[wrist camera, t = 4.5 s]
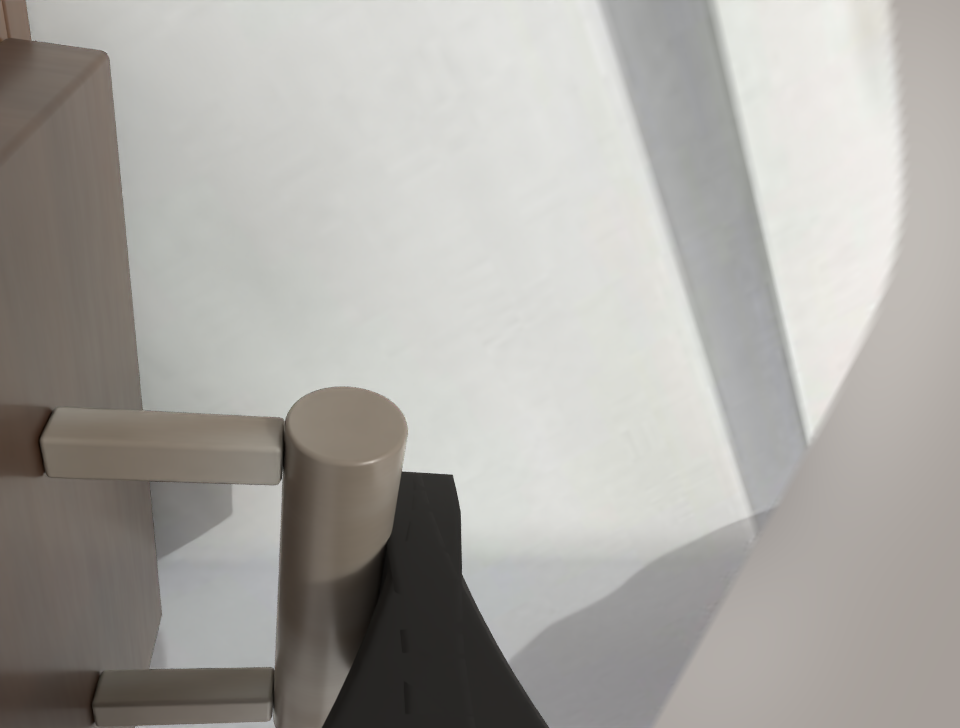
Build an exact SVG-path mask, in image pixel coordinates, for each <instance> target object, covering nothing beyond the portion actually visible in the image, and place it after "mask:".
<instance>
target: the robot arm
mask: <svg viewBox="0 0 960 728" xmlns="http://www.w3.org/2000/svg"><path fill="white" fill-rule="evenodd" d="M322 728H549V727H548V725H547V724H546V722H545V721H544V719H543V718H542V716H541V715H540V713H539V712H538V710H537V709H536V708H535V706H534V704H533V703H532V701H531V700H530V698H529V697H528V695H527V693H526V692H525V690H524V689H523V687H522V686H521V684H520V682H519V681H518V679H517V678H516V676H515V674H514V673H513V671H512V669H511V668H510V666H509V664H508V663H507V661H506V659H505V657H504V656H503V654H502V652H501V650H500V649H499V647H498V645H497V643H496V641H495V639H494V638H493V636H492V634H491V632H490V630H489V628H488V626H487V625H486V623H485V621H484V619H483V617H482V615H481V613H480V611H479V609H478V607H477V605H476V603H475V601H474V599H473V597H472V595H471V593H470V591H469V589H468V586H467V584H466V582H465V580H464V578H463V576H462V553H461V512H460V506H459V501H458V496H457V491H456V487H455V483H454V479H453V475H448V474H432V473H416V472H402V473H401V479H400V485H399V491H398V497H397V504H396V510H395V516H394V522H393V528H392V533H391V535H390V537H389V539H388V540H387V544H386V550H385V556H384V563H383V569H382V575H381V582H380V588H379V595H378V601H377V604H376V607H375V610H374V612H373V615H372V617H371V620H370V623H369V625H368V628H367V631H366V633H365V636H364V638H363V641H362V643H361V645H360V648H359V650H358V652H357V655H356V657H355V659H354V662H353V664H352V666H351V668H350V671H349V673H348V675H347V677H346V679H345V681H344V683H343V686H342V688H341V690H340V692H339V694H338V696H337V698H336V700H335V703H334V705H333V707H332V709H331V710H330V712H329V714H328V716H327V718H326V720H325V722H324V724H323V726H322Z"/></svg>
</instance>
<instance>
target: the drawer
mask: <svg viewBox="0 0 960 728" xmlns="http://www.w3.org/2000/svg"><path fill="white" fill-rule="evenodd" d="M407 435H408V427H407V422H406V420H405V417H404V415H403V413H402V412H401V410H400V409H399V408H398V407H397V406H396V405H395V404H394V403H393V402H391V401H390V400H389V399H387V398H385V397H384V396H382V395H380V394H378V393H375V392H372V391H369V390H366V389H361V388H356V387H330V388H324V389H320V390H317V391H314V392H311V393H309V394H307V395H305V396H303V397H302V398H300V399H299V400H298V401H297V402H296V403H295V404H294V405H293V406H292V407H291V409H290V410H289V412H288V414H287V416H286V420H285V421H284V419H283V418H280V417H261V416H241V415H221V414H201V413H181V412H162V411H143V409H142V398H141V388H140V377H139V367H138V356H137V346H136V335H135V324H134V314H133V303H132V293H131V282H130V272H129V261H128V251H127V240H126V229H125V219H124V208H123V198H122V187H121V177H120V166H119V155H118V145H117V134H116V124H115V113H114V103H113V92H112V81H111V71H110V60H109V57H108V55H107V53H105V52H103V51H101V50H94V49H87V48H80V47H73V46H66V45H59V44H52V43H44V42H37V41H30V40H23V39H16V38H8V39H5V40H3V41H2V42H0V728H135V726H142V725H174V724H206V723H238V722H267V721H270V719H271V717H272V712H273V720H274V724H275V727H276V728H322V726H323V724H324V722H325V720H326V718H327V716H328V714H329V712H330V710H331V709H332V707H333V705H334V703H335V700H336V698H337V696H338V694H339V692H340V690H341V688H342V686H343V683H344V681H345V679H346V677H347V675H348V673H349V671H350V668H351V666H352V664H353V662H354V659H355V657H356V655H357V652H358V650H359V648H360V645H361V643H362V641H363V638H364V636H365V633H366V631H367V628H368V625H369V623H370V620H371V617H372V615H373V612H374V610H375V607H376V604H377V601H378V595H379V588H380V582H381V575H382V569H383V563H384V556H385V550H386V544H387V540H388V539H389V537H390V535H391V533H392V528H393V522H394V516H395V510H396V504H397V497H398V491H399V485H400V479H401V473H402V466H403V460H404V454H405V448H406V442H407ZM282 471H283V480H282V505H281V529H280V553H279V578H278V602H277V626H276V650H275V670H274V668H271V667H256V668H196V669H149V667H150V662H151V658H152V654H153V650H154V646H155V641H156V637H157V633H158V629H159V625H160V621H161V616H162V610H161V599H160V589H159V578H158V568H157V557H156V546H155V536H154V525H153V515H152V504H151V494H150V483H149V481H155V482H186V483H218V484H249V485H277V484H279V482H280V481H281V479H282Z"/></svg>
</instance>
